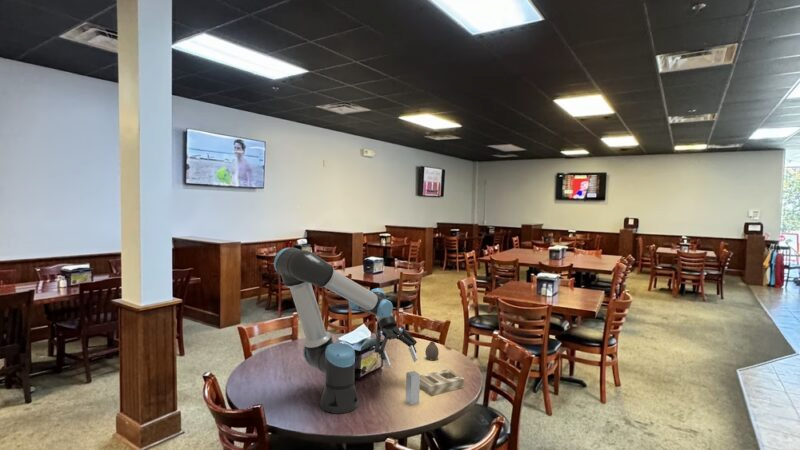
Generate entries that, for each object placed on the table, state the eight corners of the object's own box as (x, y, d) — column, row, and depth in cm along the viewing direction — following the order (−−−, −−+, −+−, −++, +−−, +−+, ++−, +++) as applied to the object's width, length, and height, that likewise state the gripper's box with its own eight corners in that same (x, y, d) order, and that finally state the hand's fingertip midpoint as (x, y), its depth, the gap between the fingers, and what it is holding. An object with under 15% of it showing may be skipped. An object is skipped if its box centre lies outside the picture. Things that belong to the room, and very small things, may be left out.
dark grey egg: (427, 361, 219) (428, 345, 218) (423, 356, 226) (423, 340, 225) (440, 360, 221) (440, 344, 220) (435, 356, 227) (436, 339, 227)
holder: (430, 395, 180) (431, 386, 180) (415, 385, 191) (415, 376, 190) (464, 387, 190) (464, 378, 189) (447, 377, 200) (448, 369, 200)
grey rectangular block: (410, 405, 172) (411, 376, 171) (405, 401, 175) (406, 372, 174) (419, 403, 174) (419, 374, 173) (413, 399, 177) (414, 370, 177)
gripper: (364, 319, 184) (380, 364, 172) (412, 312, 197) (430, 354, 185) (358, 327, 189) (373, 372, 177) (406, 320, 202) (423, 362, 190)
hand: (402, 363), depth 181 cm, fingers open, 13 cm apart
